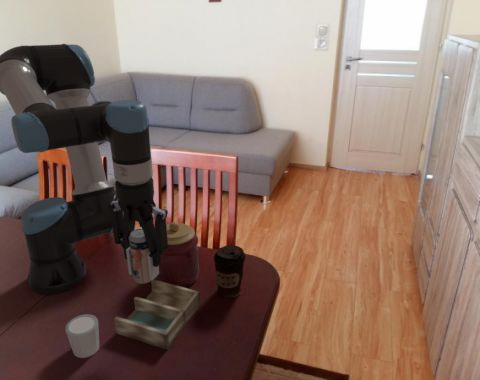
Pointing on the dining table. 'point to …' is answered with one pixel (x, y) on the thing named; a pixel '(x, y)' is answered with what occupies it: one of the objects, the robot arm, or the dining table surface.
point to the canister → (179, 256)
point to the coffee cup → (229, 270)
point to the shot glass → (83, 335)
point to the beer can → (139, 256)
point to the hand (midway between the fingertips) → (144, 273)
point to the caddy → (160, 315)
